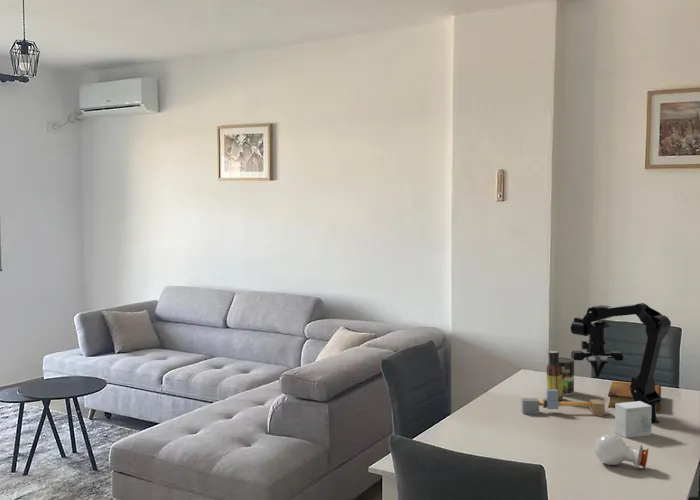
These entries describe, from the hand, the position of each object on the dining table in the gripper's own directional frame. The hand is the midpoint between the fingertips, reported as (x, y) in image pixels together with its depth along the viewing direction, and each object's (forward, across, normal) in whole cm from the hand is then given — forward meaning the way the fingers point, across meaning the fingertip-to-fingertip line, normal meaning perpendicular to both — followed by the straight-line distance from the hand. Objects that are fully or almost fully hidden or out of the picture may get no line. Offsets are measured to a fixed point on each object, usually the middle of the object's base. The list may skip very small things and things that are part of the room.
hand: (596, 377), depth 266 cm
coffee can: (+12, +9, -22) cm, 27 cm away
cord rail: (+12, +14, +8) cm, 20 cm away
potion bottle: (+12, +9, +62) cm, 64 cm away
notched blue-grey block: (+10, +19, +8) cm, 23 cm away
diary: (+13, -17, -8) cm, 23 cm away
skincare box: (+12, -4, +32) cm, 35 cm away
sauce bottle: (+12, +14, -11) cm, 22 cm away
